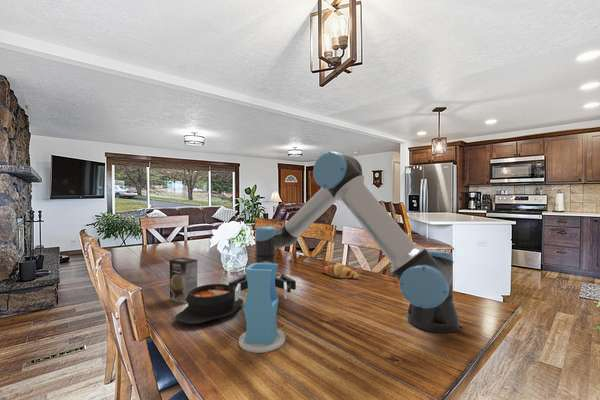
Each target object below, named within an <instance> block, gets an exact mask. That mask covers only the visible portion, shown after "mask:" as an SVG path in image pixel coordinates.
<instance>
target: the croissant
mask: <svg viewBox="0 0 600 400" xmlns="http://www.w3.org/2000/svg"><path fill="white" fill-rule="evenodd" d="M321 271H322V272H324V273H325V274H326V275H327V276H329V277H332V278H337V279H353V280H354V279H357V278H359V277H360V276H359V274H358V273H357V271H355V270H353V269H352V268H351V267H350V266H345V264H343V263H341V262H335V263H334V264H330V265H329V266H322V267H321Z"/></svg>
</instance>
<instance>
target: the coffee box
mask: <svg viewBox="0 0 600 400" xmlns="http://www.w3.org/2000/svg"><path fill="white" fill-rule="evenodd" d="M196 287H198V259H196V258H195V259H194V258H189V257H178V258H177V257H176V258H172V259H169V301H172V302H176V303H178V304H179V303H180V304H184V305H186V304H187V305H188V303H187V302H186V300H185V299H186V297H187V296H188V293H189V291H190V290H192V289H194V288H196Z"/></svg>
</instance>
